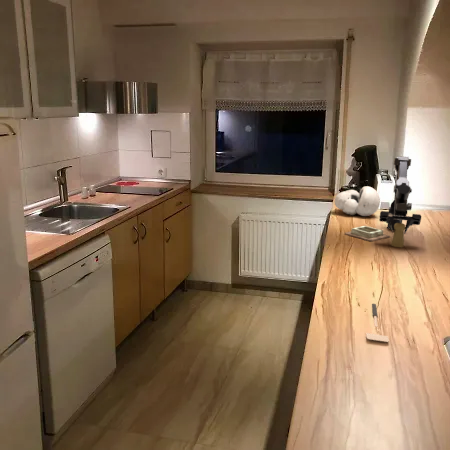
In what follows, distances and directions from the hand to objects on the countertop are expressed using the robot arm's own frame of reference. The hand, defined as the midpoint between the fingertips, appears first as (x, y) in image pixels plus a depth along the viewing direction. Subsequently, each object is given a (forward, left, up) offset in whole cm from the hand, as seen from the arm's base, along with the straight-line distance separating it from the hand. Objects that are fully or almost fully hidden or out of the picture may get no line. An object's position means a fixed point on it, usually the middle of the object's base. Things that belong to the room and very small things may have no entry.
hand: (399, 232), depth 239 cm
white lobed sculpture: (-16, -65, -7) cm, 67 cm away
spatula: (+57, +73, -7) cm, 93 cm away
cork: (-1, -1, -7) cm, 7 cm away
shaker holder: (+4, -20, -7) cm, 22 cm away
